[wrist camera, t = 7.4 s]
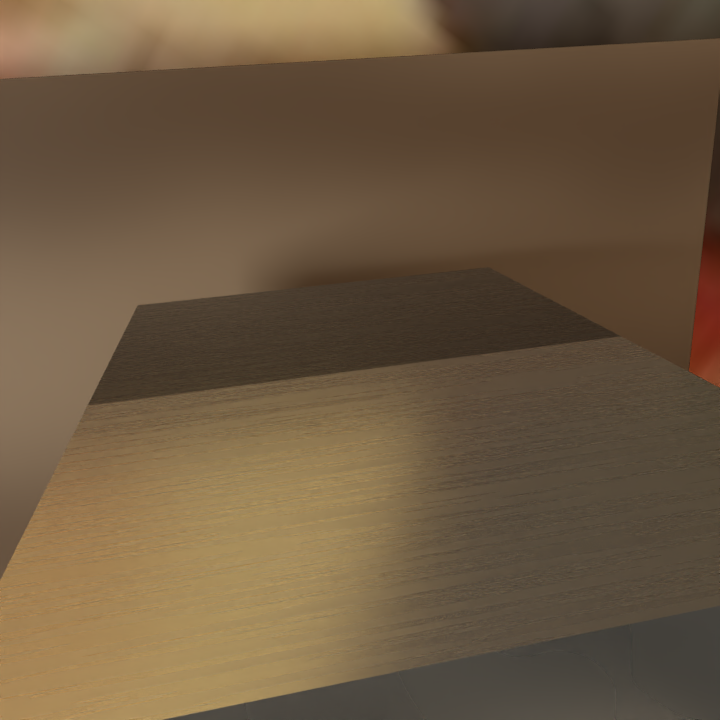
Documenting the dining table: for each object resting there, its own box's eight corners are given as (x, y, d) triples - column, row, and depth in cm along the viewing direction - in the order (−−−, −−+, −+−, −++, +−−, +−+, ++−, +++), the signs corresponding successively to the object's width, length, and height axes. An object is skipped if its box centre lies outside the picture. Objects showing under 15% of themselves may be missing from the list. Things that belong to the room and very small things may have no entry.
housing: (488, 686, 12) (775, 1293, 6) (219, 743, 12) (211, 1513, 5) (488, 267, 10) (1020, 544, 3) (138, 305, 9) (-95, 771, 2)
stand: (-127, 101, 11) (-241, 93, 9) (622, 56, 13) (725, 38, 11) (56, 716, 16) (19, 838, 13) (588, 611, 18) (652, 697, 15)
